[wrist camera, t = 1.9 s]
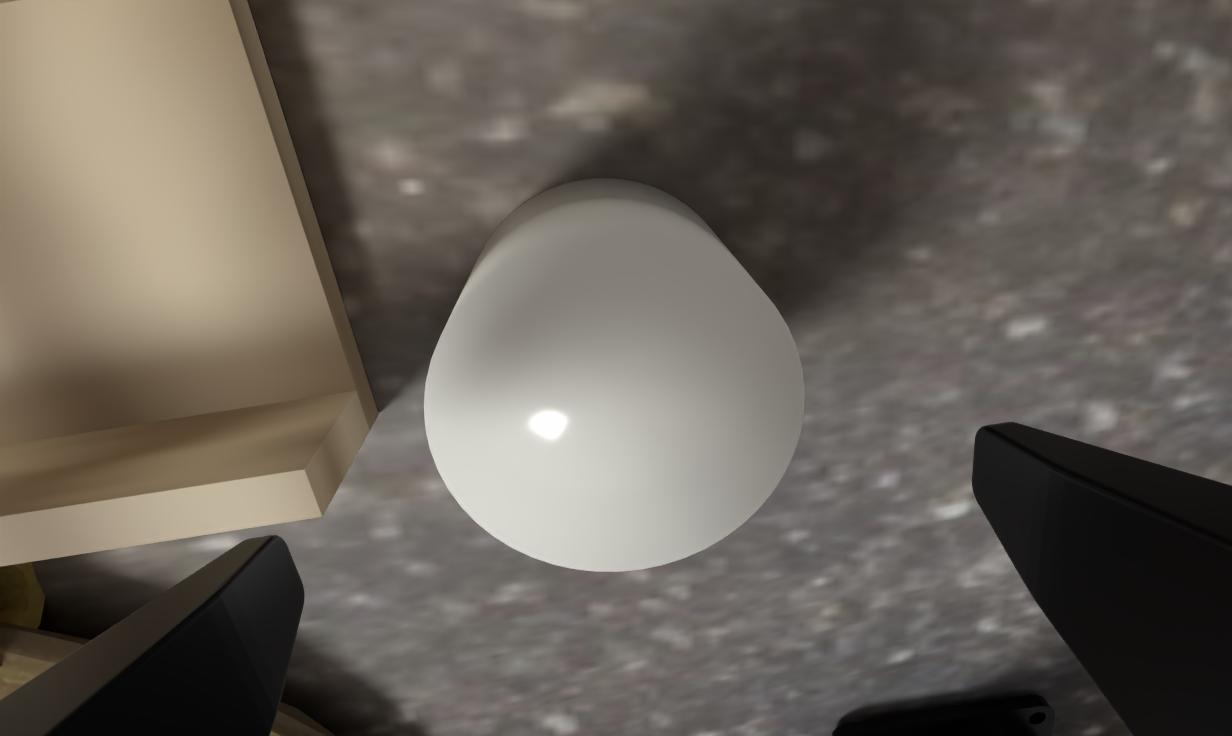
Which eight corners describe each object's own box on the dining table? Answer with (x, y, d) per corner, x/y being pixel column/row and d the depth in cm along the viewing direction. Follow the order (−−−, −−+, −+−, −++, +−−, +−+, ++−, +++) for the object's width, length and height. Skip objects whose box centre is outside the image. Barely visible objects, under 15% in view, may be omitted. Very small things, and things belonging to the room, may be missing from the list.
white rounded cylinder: (726, 156, 14) (797, 200, 10) (745, 412, 17) (810, 543, 12) (438, 202, 14) (376, 265, 10) (499, 451, 17) (472, 595, 12)
